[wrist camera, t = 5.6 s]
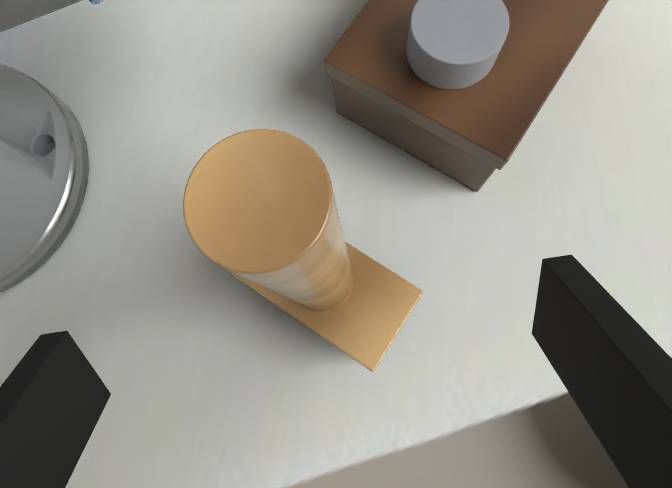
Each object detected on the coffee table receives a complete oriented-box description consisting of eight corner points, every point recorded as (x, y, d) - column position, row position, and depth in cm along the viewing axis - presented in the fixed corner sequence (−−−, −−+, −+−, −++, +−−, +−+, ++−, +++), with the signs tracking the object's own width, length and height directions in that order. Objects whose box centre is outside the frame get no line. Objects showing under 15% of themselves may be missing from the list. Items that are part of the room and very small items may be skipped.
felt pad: (389, 63, 21) (391, 36, 19) (435, -1, 21) (442, -35, 19) (467, 105, 20) (478, 80, 18) (512, 36, 20) (528, 5, 18)
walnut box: (329, 111, 26) (320, 58, 21) (439, -42, 28) (455, -126, 23) (478, 197, 24) (508, 160, 19) (585, 26, 26) (638, -48, 21)
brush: (250, 282, 24) (18, 178, 8) (293, 220, 25) (157, 9, 9) (372, 366, 23) (386, 446, 6) (414, 298, 23) (523, 219, 7)
